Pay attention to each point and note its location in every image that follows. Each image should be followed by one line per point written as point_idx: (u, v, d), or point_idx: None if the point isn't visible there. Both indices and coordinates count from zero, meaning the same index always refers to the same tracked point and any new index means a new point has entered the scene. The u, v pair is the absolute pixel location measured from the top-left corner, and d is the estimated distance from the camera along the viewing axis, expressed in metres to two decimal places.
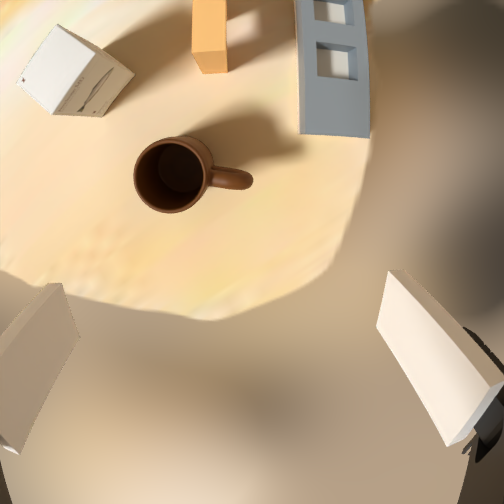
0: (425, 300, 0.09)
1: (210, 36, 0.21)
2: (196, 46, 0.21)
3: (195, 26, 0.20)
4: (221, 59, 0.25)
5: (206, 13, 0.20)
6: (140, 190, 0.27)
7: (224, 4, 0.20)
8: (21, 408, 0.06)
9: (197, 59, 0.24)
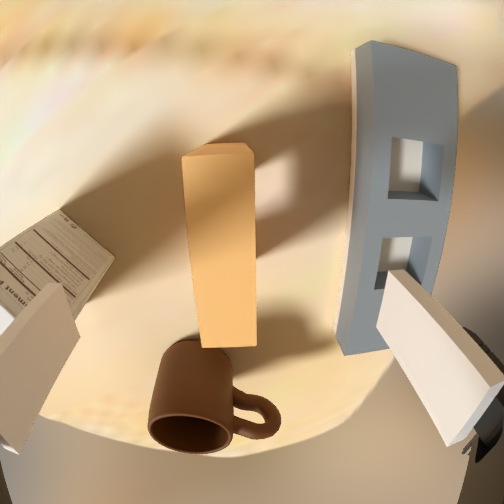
0: (425, 300, 0.09)
1: (230, 325, 0.15)
2: (208, 339, 0.15)
3: (202, 306, 0.15)
4: None
5: (219, 281, 0.14)
6: (158, 437, 0.22)
7: (253, 262, 0.14)
8: (21, 408, 0.06)
9: None
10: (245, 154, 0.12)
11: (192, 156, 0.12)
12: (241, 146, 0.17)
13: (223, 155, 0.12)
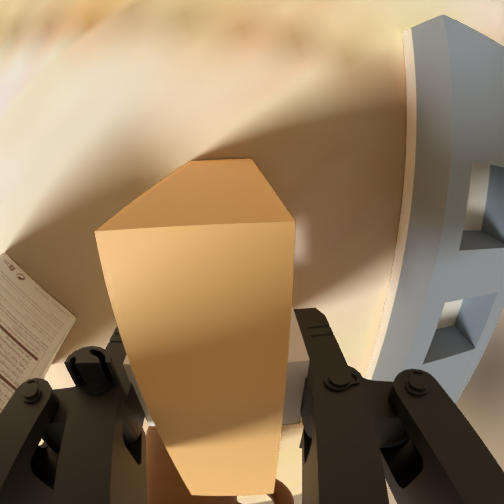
0: None
1: (234, 482, 0.07)
2: (200, 490, 0.08)
3: (185, 467, 0.07)
4: None
5: (213, 448, 0.06)
6: None
7: (277, 427, 0.06)
8: None
9: None
10: (270, 225, 0.04)
11: (122, 229, 0.04)
12: (249, 173, 0.09)
13: (205, 228, 0.04)
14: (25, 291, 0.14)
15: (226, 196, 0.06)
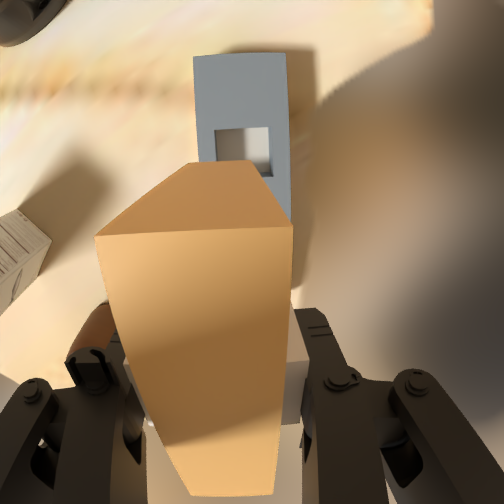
0: None
1: (233, 483, 0.07)
2: (200, 491, 0.08)
3: (185, 468, 0.07)
4: None
5: (212, 449, 0.06)
6: None
7: (276, 429, 0.06)
8: None
9: None
10: (268, 230, 0.04)
11: (121, 234, 0.04)
12: (248, 175, 0.09)
13: (204, 233, 0.04)
14: (27, 225, 0.28)
15: (225, 200, 0.06)
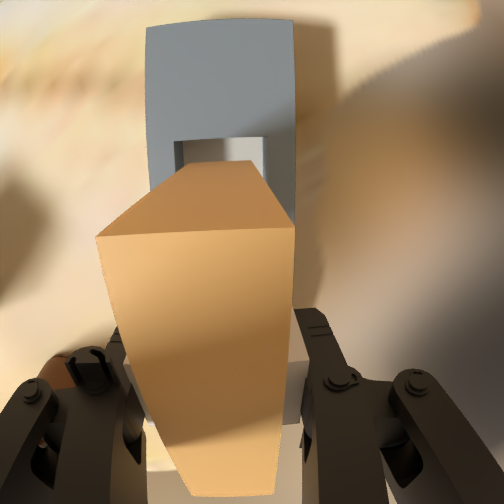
0: None
1: (234, 483, 0.07)
2: (201, 491, 0.08)
3: (186, 468, 0.07)
4: None
5: (213, 449, 0.06)
6: None
7: (277, 429, 0.06)
8: None
9: None
10: (269, 231, 0.04)
11: (122, 235, 0.04)
12: (249, 176, 0.09)
13: (206, 234, 0.04)
14: None
15: (226, 200, 0.06)
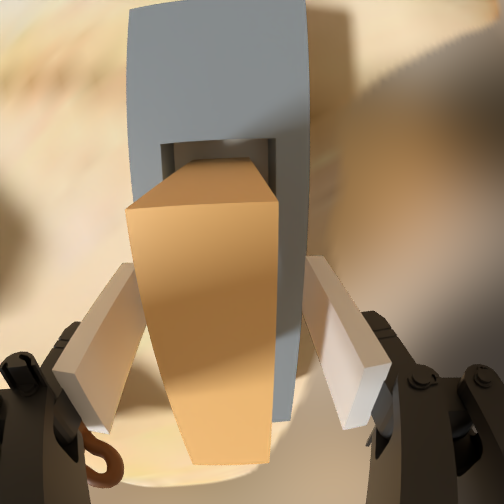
0: (329, 282, 0.10)
1: (232, 448, 0.09)
2: (201, 458, 0.09)
3: (188, 430, 0.08)
4: None
5: (214, 407, 0.08)
6: None
7: (270, 385, 0.07)
8: (111, 384, 0.08)
9: None
10: (259, 204, 0.06)
11: (147, 208, 0.06)
12: (246, 169, 0.10)
13: (211, 206, 0.06)
14: None
15: (227, 186, 0.07)
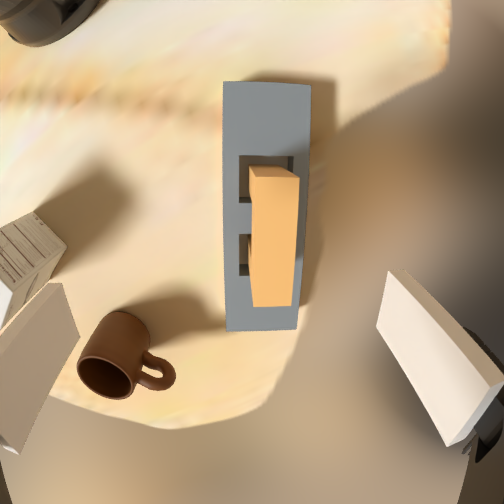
0: (425, 300, 0.09)
1: (275, 289, 0.23)
2: (258, 300, 0.23)
3: (258, 275, 0.22)
4: None
5: (272, 258, 0.22)
6: (85, 380, 0.29)
7: (294, 245, 0.21)
8: (21, 408, 0.06)
9: None
10: (294, 178, 0.20)
11: (262, 177, 0.20)
12: (282, 169, 0.24)
13: (281, 178, 0.20)
14: (43, 229, 0.30)
15: (281, 174, 0.21)
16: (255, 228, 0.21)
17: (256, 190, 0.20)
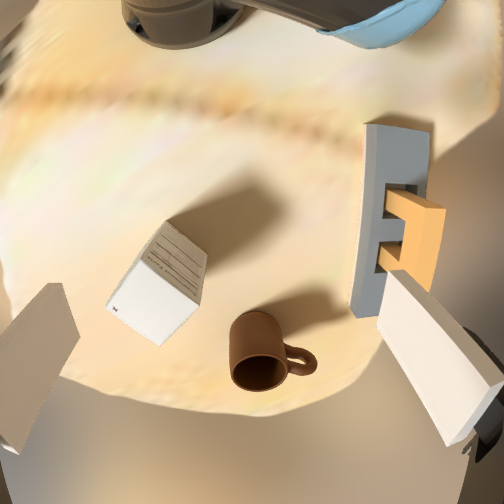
0: (425, 300, 0.09)
1: (423, 282, 0.29)
2: None
3: (416, 272, 0.29)
4: None
5: (425, 260, 0.28)
6: (235, 379, 0.36)
7: (438, 252, 0.28)
8: (21, 408, 0.06)
9: None
10: (443, 209, 0.26)
11: (428, 208, 0.26)
12: (418, 197, 0.31)
13: (437, 209, 0.26)
14: (184, 239, 0.36)
15: (430, 204, 0.28)
16: (420, 241, 0.27)
17: (424, 217, 0.26)
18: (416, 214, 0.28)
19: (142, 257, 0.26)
